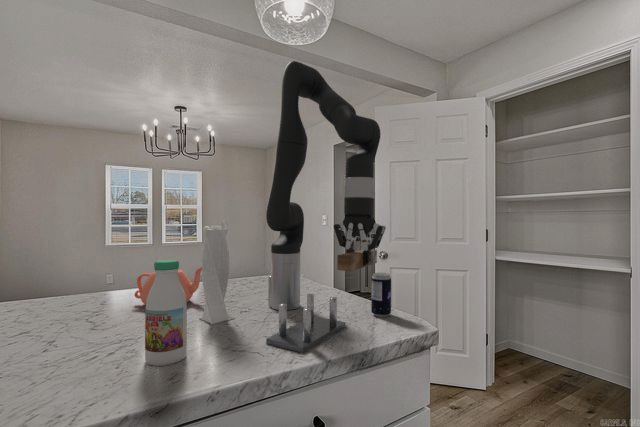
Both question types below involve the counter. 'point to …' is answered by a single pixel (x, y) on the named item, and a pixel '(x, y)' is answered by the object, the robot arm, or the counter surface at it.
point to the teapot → (184, 281)
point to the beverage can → (381, 294)
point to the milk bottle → (166, 316)
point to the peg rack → (306, 328)
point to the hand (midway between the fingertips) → (358, 264)
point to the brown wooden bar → (354, 260)
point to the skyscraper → (215, 274)
